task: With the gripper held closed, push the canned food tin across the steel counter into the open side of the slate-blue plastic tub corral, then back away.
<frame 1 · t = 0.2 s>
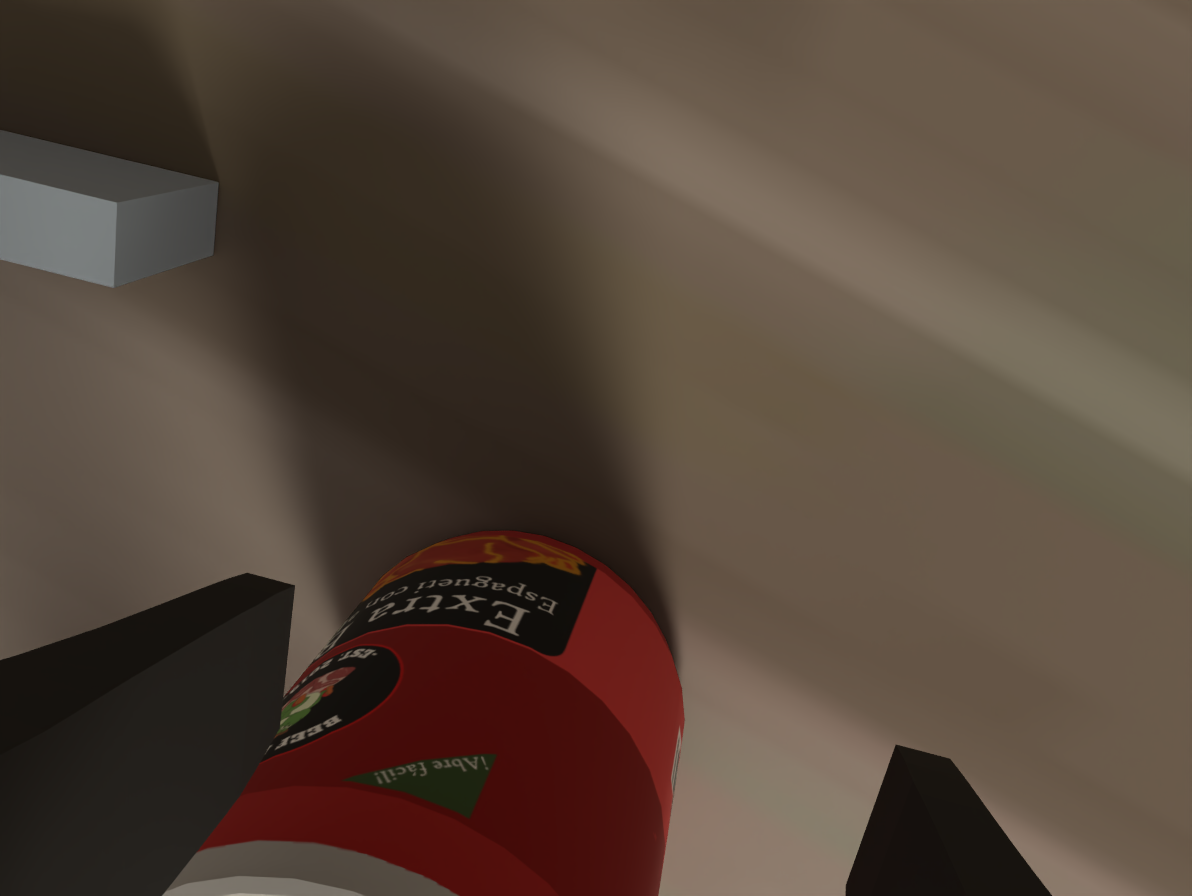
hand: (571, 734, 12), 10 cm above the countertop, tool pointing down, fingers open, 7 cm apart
canned food: (522, 675, 24), on the countertop
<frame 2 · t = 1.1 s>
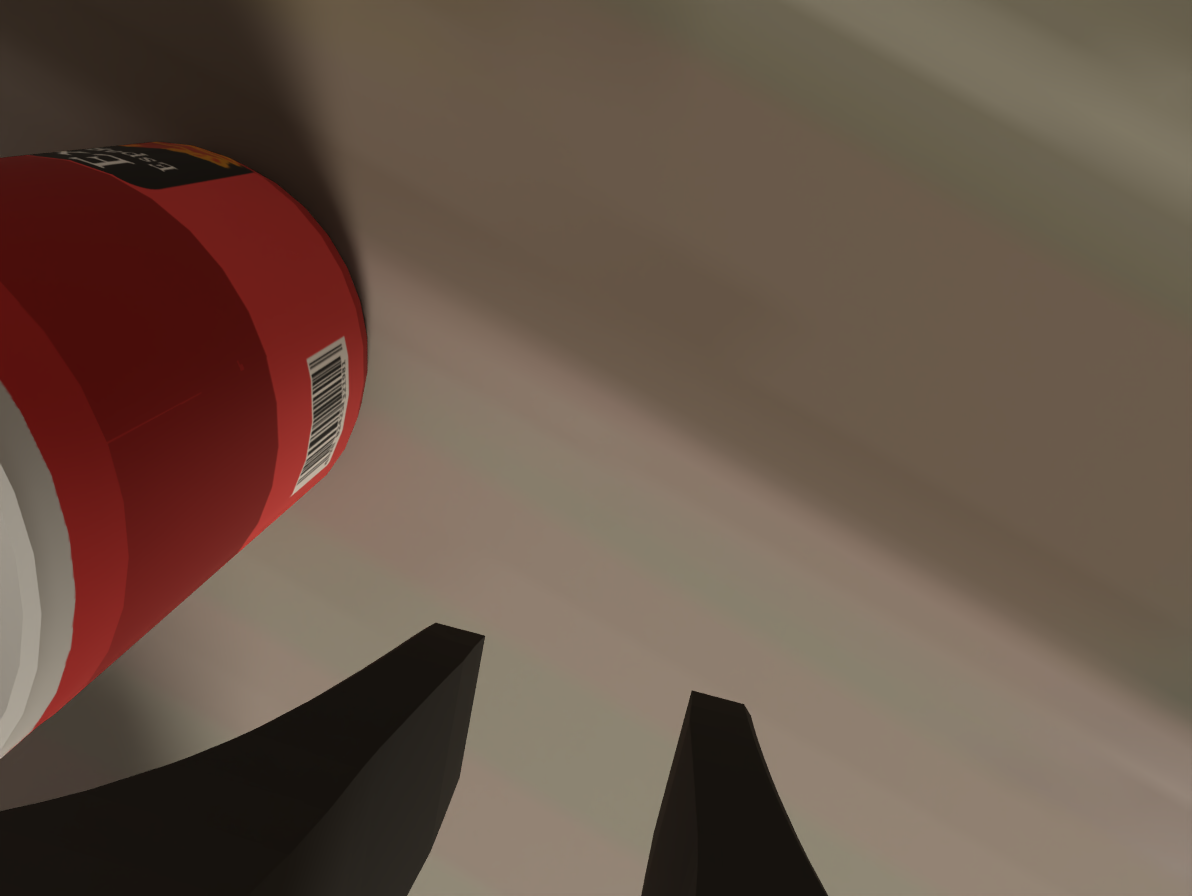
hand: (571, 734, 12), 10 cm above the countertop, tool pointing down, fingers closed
canned food: (215, 328, 23), on the countertop
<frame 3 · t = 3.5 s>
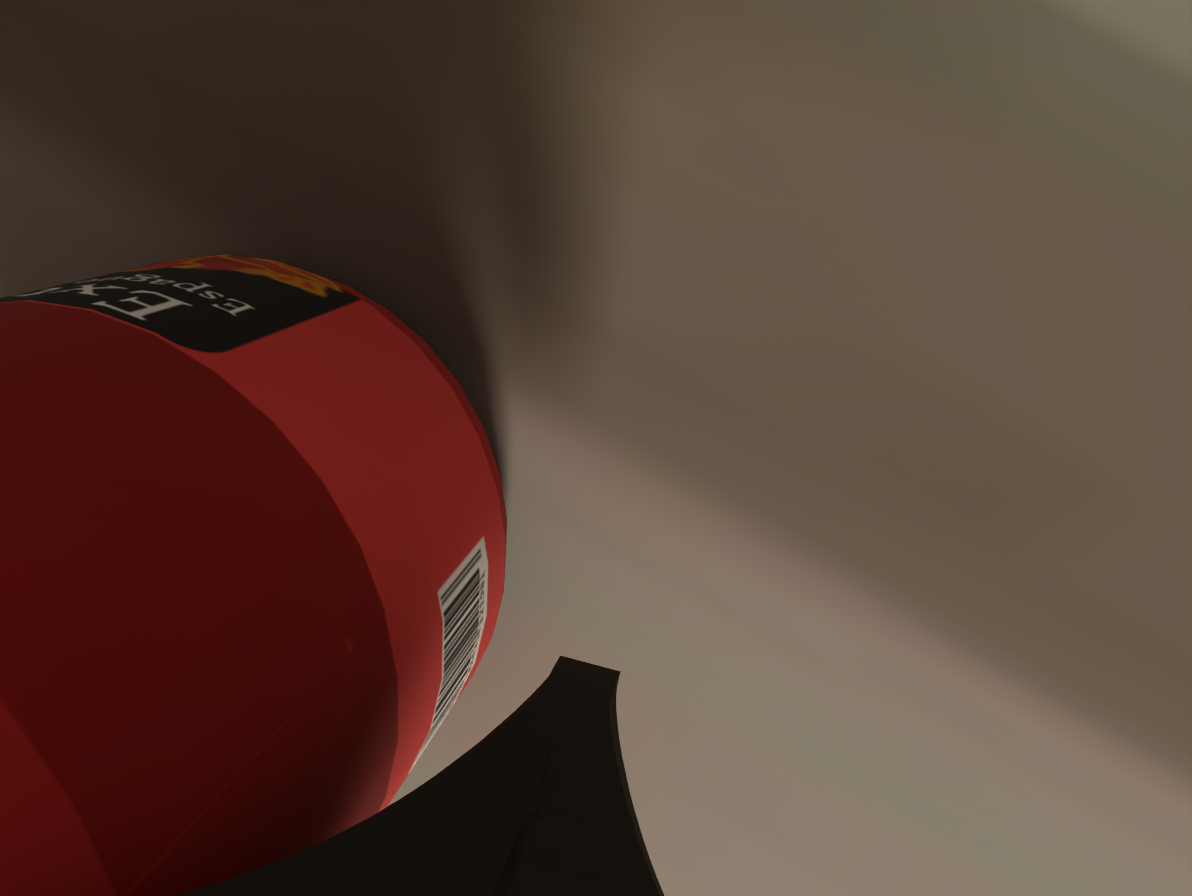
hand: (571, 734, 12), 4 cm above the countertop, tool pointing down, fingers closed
canned food: (297, 497, 17), on the countertop, touching gripper
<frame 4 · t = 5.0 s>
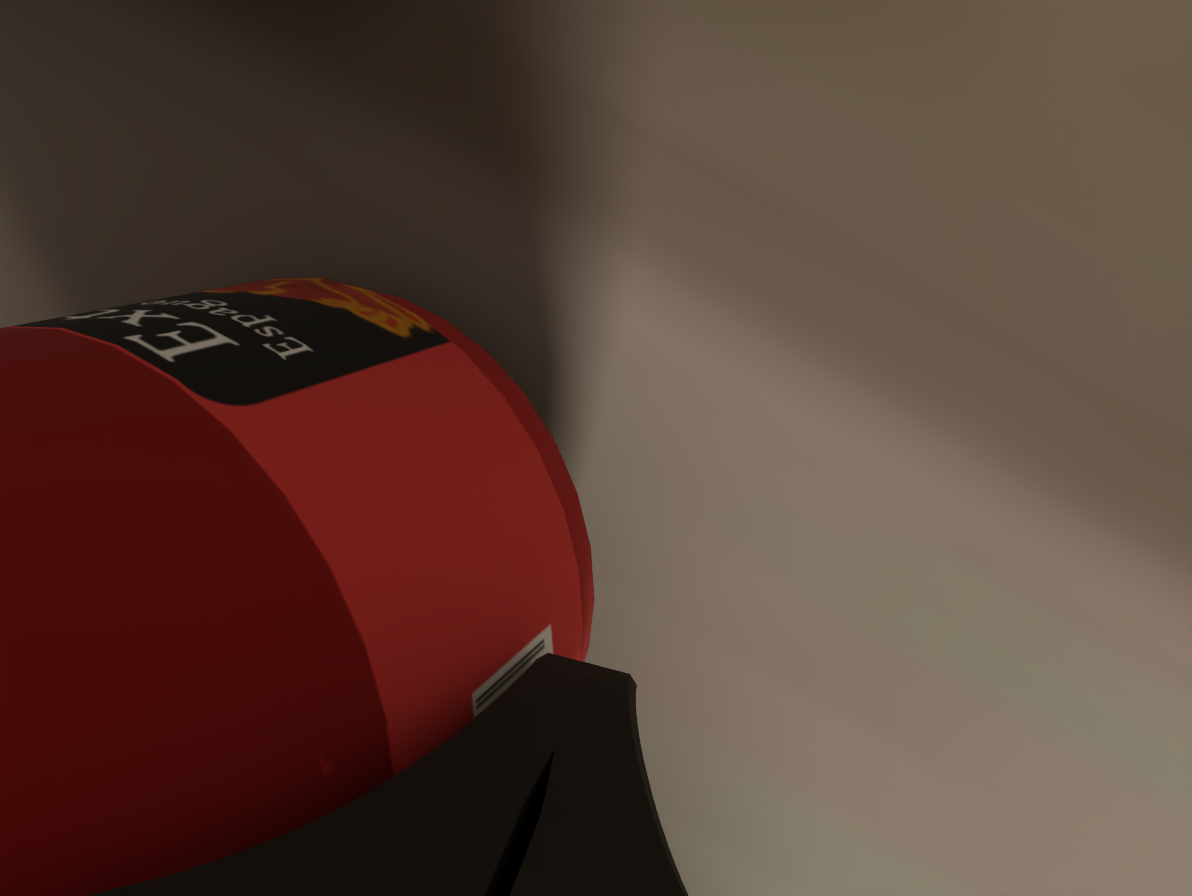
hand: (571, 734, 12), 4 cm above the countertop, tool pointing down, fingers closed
canned food: (386, 536, 16), point 1 cm above the countertop, touching gripper
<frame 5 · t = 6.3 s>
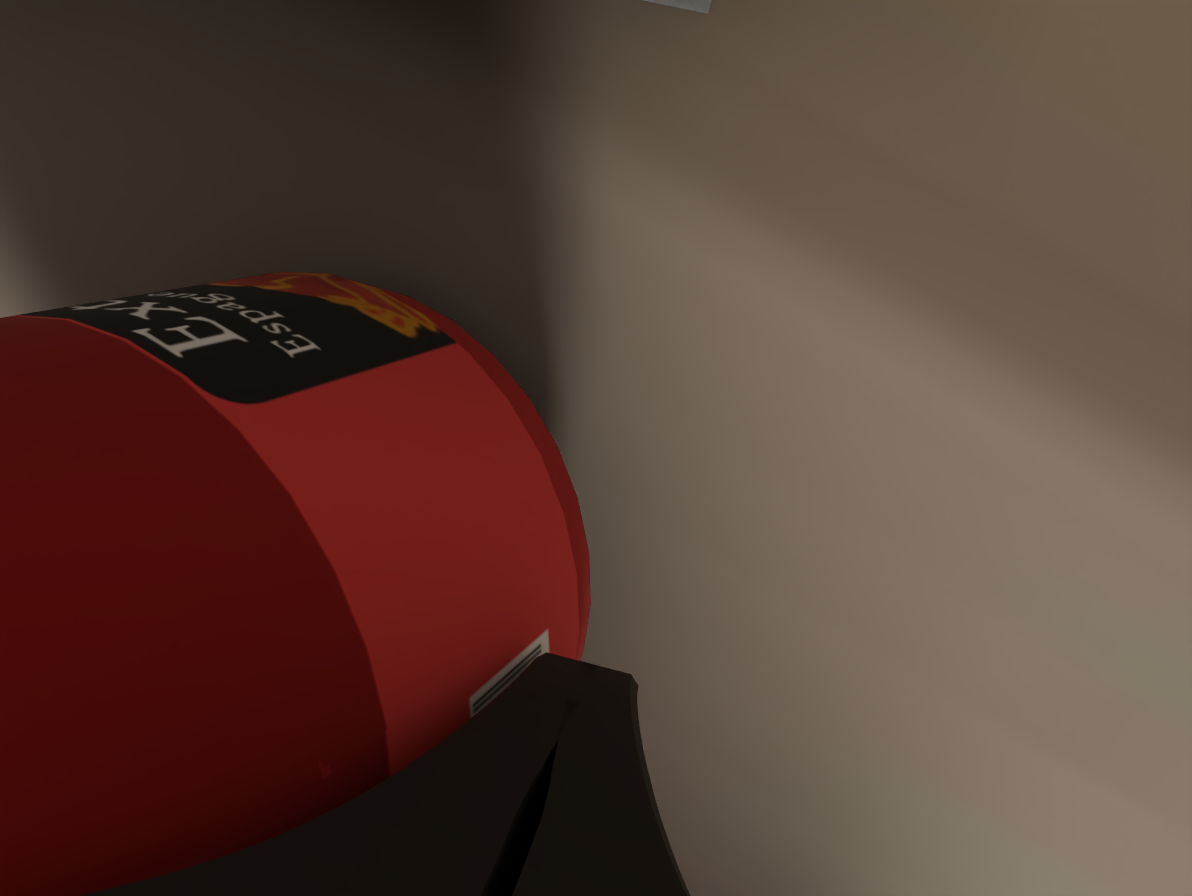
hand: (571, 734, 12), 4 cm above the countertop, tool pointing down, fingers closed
tub corral: (104, 443, 17), on the countertop
canned food: (382, 533, 16), point 1 cm above the countertop, touching gripper
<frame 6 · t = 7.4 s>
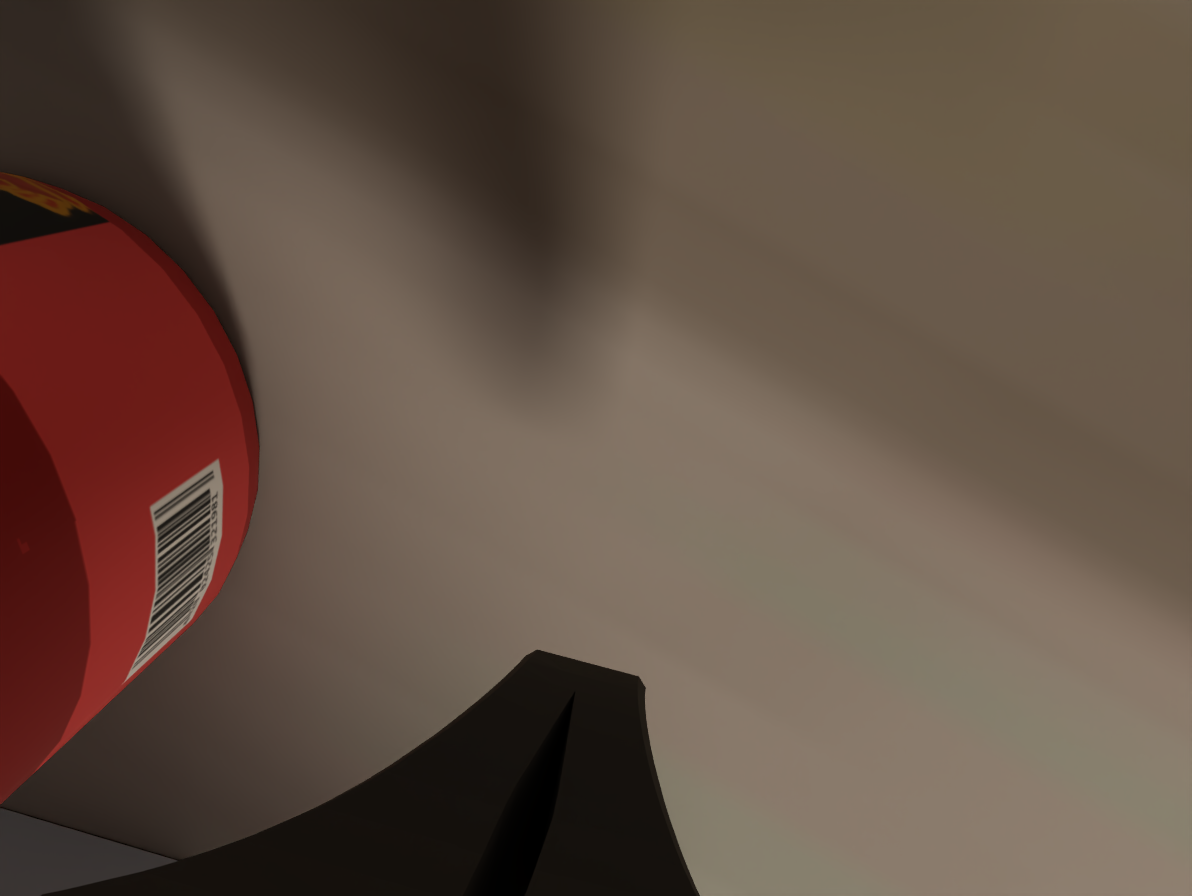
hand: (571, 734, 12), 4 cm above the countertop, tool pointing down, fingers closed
canned food: (60, 413, 17), on the countertop
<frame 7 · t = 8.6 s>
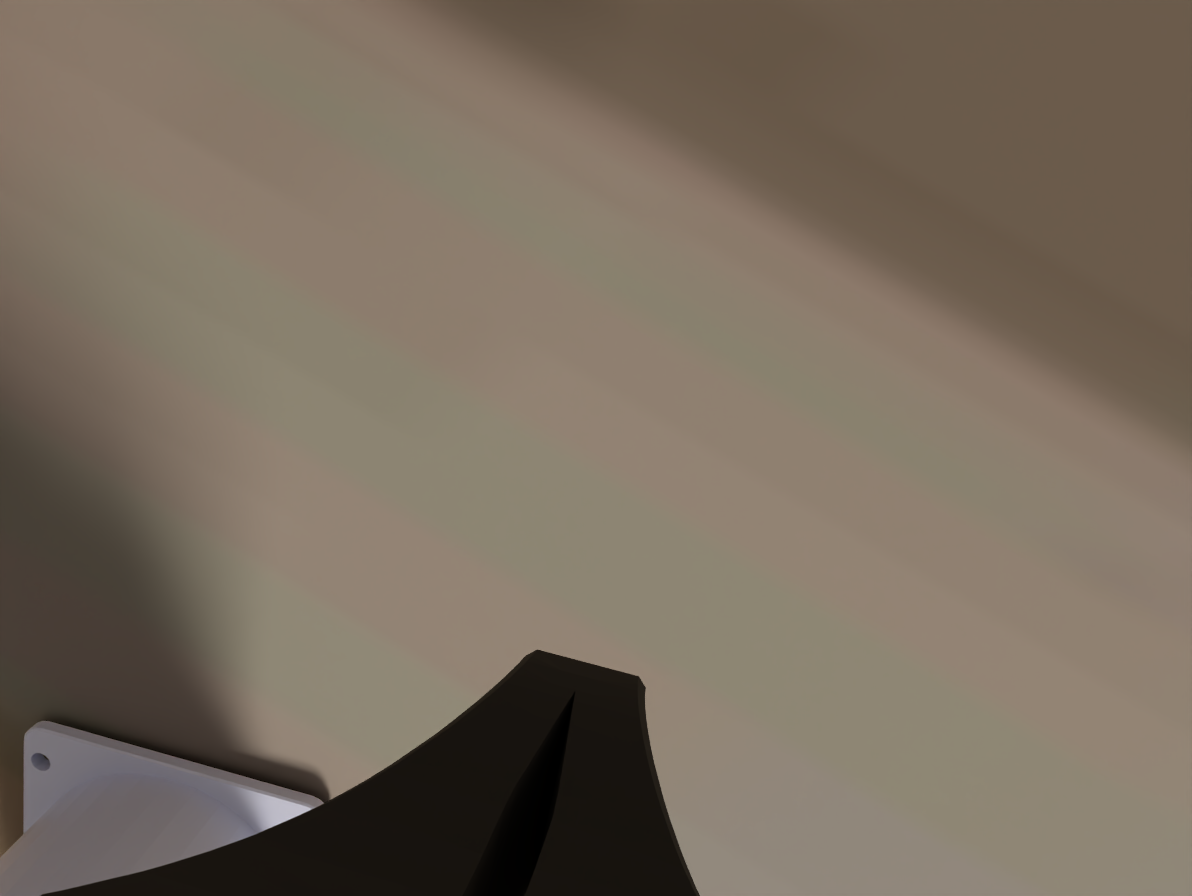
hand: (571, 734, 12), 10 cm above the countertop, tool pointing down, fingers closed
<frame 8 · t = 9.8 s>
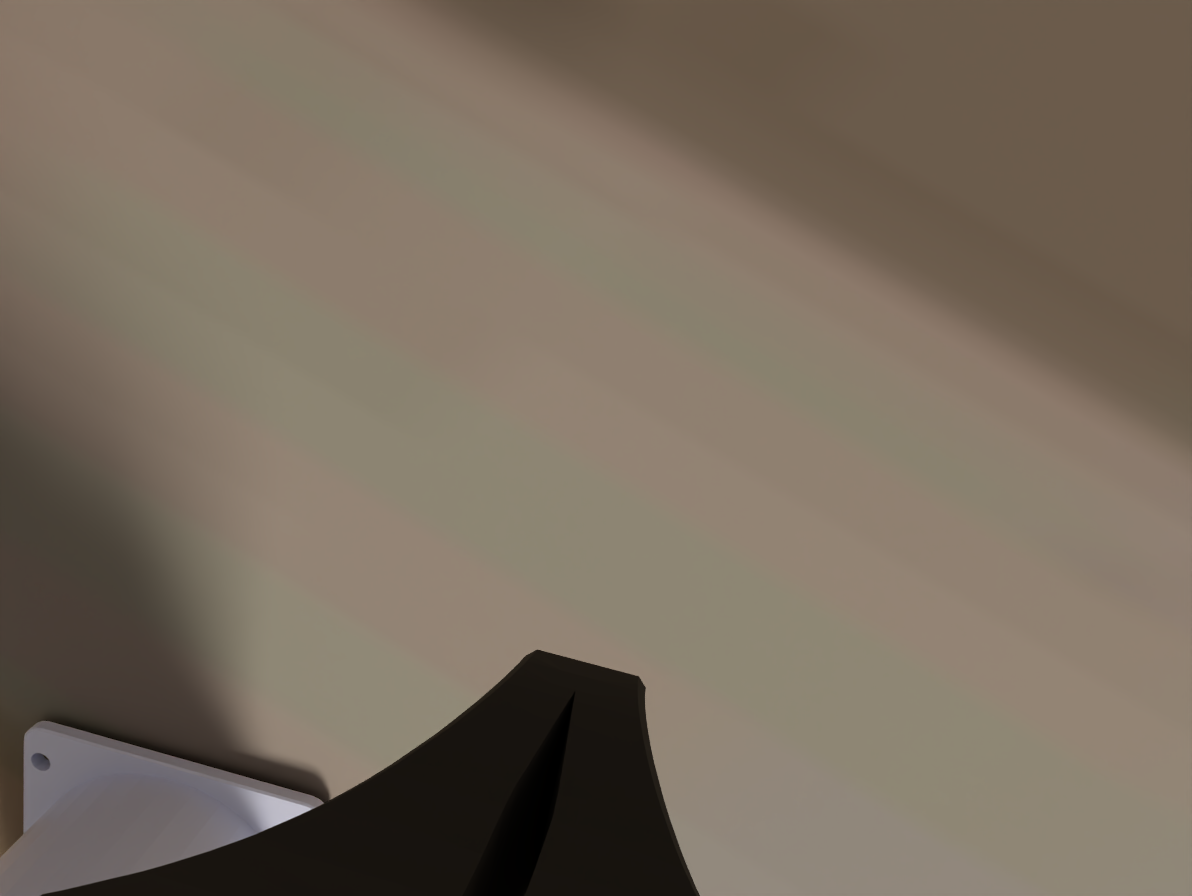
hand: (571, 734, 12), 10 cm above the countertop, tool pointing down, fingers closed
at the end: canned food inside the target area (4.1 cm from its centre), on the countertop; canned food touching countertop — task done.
